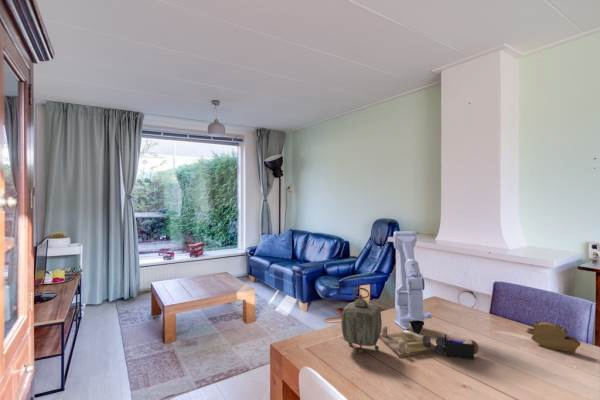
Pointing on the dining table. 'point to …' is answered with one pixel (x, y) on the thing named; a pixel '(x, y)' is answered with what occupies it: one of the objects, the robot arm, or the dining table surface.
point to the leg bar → (416, 337)
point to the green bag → (361, 322)
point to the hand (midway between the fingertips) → (416, 337)
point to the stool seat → (404, 344)
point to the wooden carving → (553, 337)
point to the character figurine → (456, 348)
